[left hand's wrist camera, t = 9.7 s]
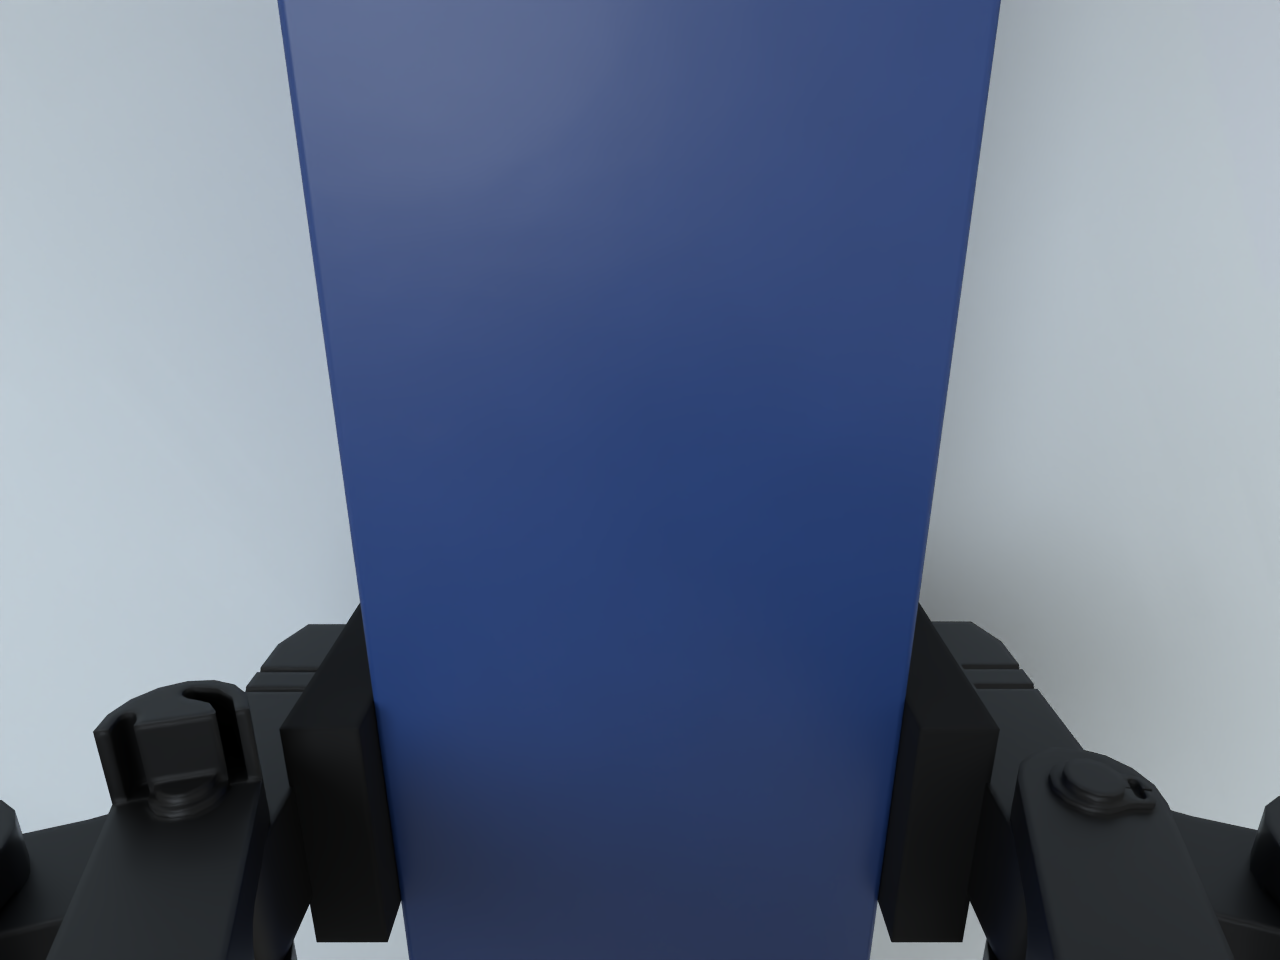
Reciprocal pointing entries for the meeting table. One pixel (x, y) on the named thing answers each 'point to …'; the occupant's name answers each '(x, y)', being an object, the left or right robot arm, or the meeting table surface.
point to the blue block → (639, 444)
